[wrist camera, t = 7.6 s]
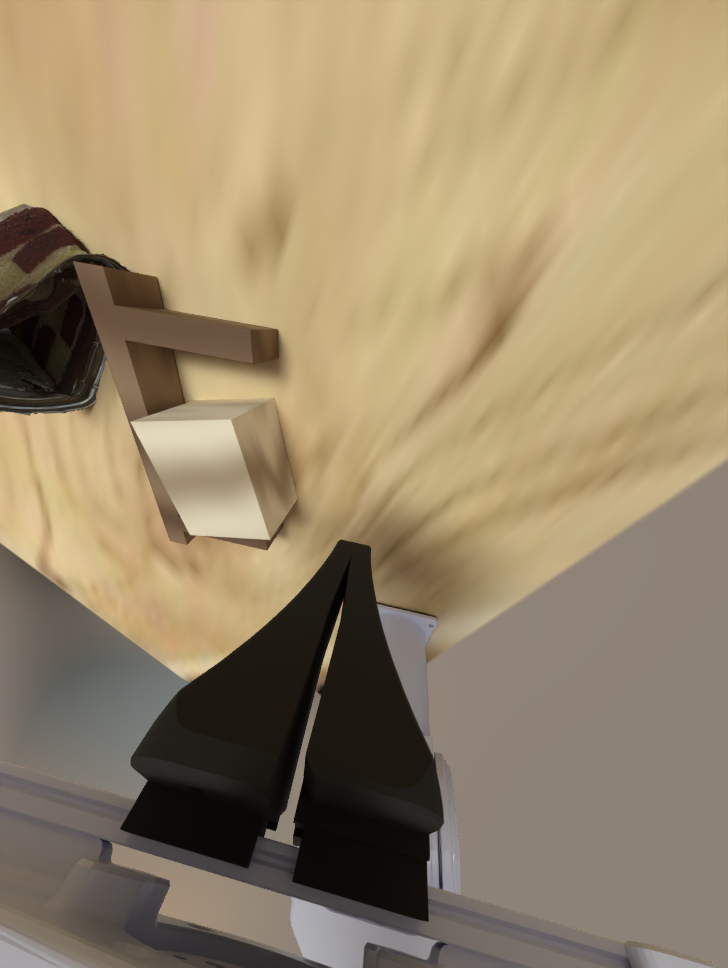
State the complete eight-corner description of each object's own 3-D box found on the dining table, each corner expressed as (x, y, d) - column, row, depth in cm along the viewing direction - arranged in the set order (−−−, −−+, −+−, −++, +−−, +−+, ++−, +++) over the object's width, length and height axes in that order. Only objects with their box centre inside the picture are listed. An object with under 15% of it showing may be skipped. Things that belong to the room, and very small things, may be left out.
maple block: (298, 497, 21) (270, 539, 17) (232, 495, 22) (189, 535, 18) (275, 397, 17) (230, 419, 13) (195, 400, 18) (130, 421, 14)
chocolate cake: (25, 127, 13) (-398, 172, 9) (117, 246, 13) (-257, 343, 9) (134, 296, 22) (-49, 356, 18) (187, 364, 22) (18, 439, 18)
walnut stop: (283, 537, 24) (267, 563, 21) (195, 518, 24) (170, 540, 22) (276, 297, 14) (247, 291, 12) (131, 272, 15) (72, 261, 12)
